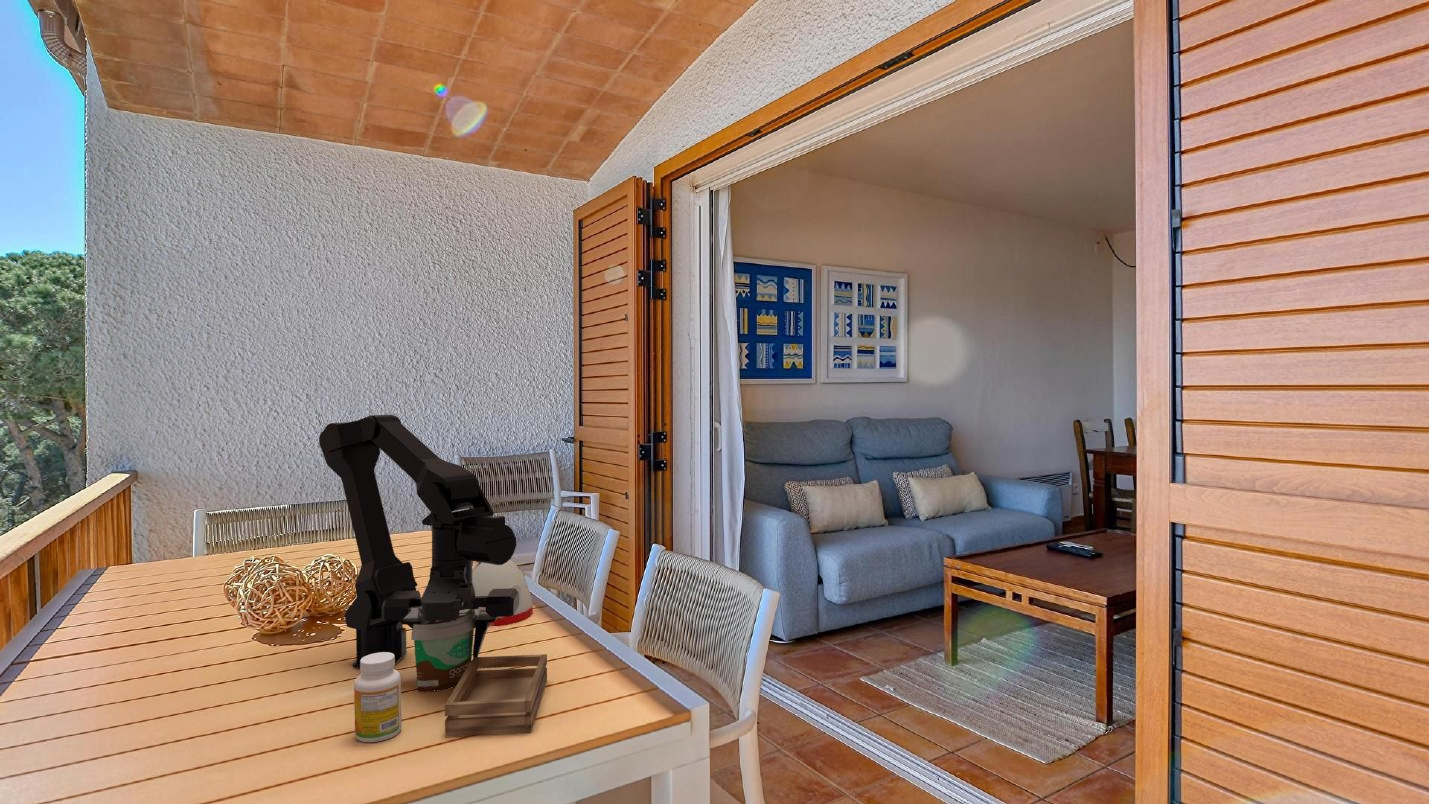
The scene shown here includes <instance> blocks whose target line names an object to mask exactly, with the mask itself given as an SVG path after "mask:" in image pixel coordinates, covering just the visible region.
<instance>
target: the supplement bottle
mask: <svg viewBox="0 0 1429 804" xmlns="http://www.w3.org/2000/svg"><path fill="white" fill-rule="evenodd" d="M395 666H396V665H395V656H394V654H393V653H389V652H380V653H374V654H370V655H367V656H365V657H363V658H362V659H361V660H360V667H359V668H360V669H359V670H360V673H361V674H359V675H358V676H357V677H356V679H355V681H354V687H353V689H354V690H353V691H354V692H353V693H354V694H353V695H354V700H353V701H354V735H355V738H356V740H357V741H359V742H362V743H378V742H382V741H386V740H389V739H391V738H393V737H396V735H398V734H399V733H400V732H401V730H402V725H403V724H402V719H403V718H402V679H401V674H400V672H399V671H398V670H396V669H394V668H395Z"/></svg>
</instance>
